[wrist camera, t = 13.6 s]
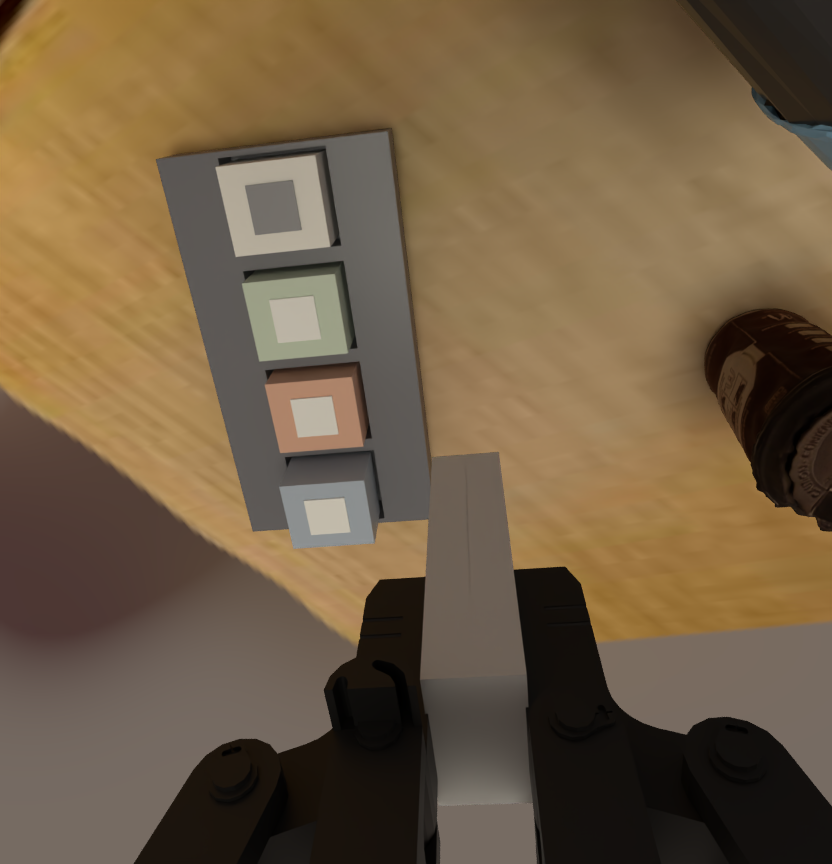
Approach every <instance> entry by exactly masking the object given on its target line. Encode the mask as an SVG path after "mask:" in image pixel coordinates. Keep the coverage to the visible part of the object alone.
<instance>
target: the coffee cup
mask: <svg viewBox="0 0 832 864" xmlns="http://www.w3.org/2000/svg"><path fill="white" fill-rule="evenodd" d="M705 376H706V380H707V382H708V384H709V386H710V389H711V390H712V391H713V392H714V393H715V394H716V397H717V399H718V403H719V405H720V407H721V410H722V412H723V414H724V416H725V418H726V420H727V422H728V423H729V424H730V426H731V428H732V430H733V431H734V433H735V435H736V437H737V439H738V441H739V442H740V444H741V446H742V448H743V449H744V451H745V453H746V455H747V458H748V459H749V461H750V462H751V467H752V470H753V472H752V474H753V476H754V478H755V480H756V482H757V484H756V488H757V490H759V491H761V492H763V493H764V494H765V495H766V497H768V498H769V499H770V500H771V501H772V502H773V503H775V507H777V508H778V507H791V508H792V509H793V510H794V511H795V512H796V513H797V514H798V515H802V516H808V517H816V520H817V524H818V527H820V530H822V531H832V336H831V335H830V334H828V333H827V332H826V331H825V330H823V329H821V328H820V327H818V326H816V325H814V324H811V323H809V322H808V321H807V320H806V319H805V318H803V317H802V316H800V315H798V314H795V313H792V312H789V311H785V310H779V309H761V310H754V311H751V312H747V313H744V314H742V315H739V316H737V317H735V318H733V319H731V320H729V321H728V322H727V323H726V324H725V325H724V326H723V327H722V328H721V329H720V330H719V332H718V333H717V334H716V335H715V337H714V338H713V339H712V341H711V342H710V344H709V347H708V349H707V352H706V356H705Z"/></svg>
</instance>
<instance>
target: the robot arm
mask: <svg viewBox="0 0 832 864" xmlns="http://www.w3.org/2000/svg"><path fill="white" fill-rule="evenodd" d="M676 1H677V2H678V4H679V5H680V6H681V7H682V8H683V9H684V10H685V11H686V13H687V14H688V15H689V16H690V17H691V18H692V19H693V20H694V22H695V23H696V24H697V25H698V26H699V27H700V28H701V30H702V31H703V32H704V33H705V34H706V35H707V36H708V37H709V39H710V40H711V41H712V42H713V43H714V44H715V45H716V47H717V48H718V49H719V50H720V51H721V52H722V53H723V54H724V56H725V57H726V58H727V59H728V60H729V61H730V62H731V64H732V65H733V66H734V67H735V68H736V69H737V70H738V71H739V73H740V74H741V75H742V76H743V77H744V78H745V79H746V80H747V82H748V83H749V84H750V85H751V86H752V96H753V98H754V100H755V102H756V103H757V105H758V106H759V107H760V109H761V110H762V111H763V113H764V114H765V115H766V116H767V117H768V118H769V119H770V120H772V121H773V122H775V123H776V124H777V125H781V126H782V127H784V128H785V129H787V130H788V131H790V132H791V133H794V134H796V135H797V136H798V137H799V138H800V139H801V140H802V141H803V142H804V143H805V144H806V145H807V147H808V148H809V149H810V150H811V151H812V152H813V153H814V154H815V155H816V156H817V157H818V158H819V159H820V160H821V161H822V162H823V163H824V164H825V165H826V166H827V167H828V168H829V169H830V170H832V0H676ZM324 693H325V698H326V702H327V706H328V710H329V714H330V719H331V723H332V727H333V728H332V729H331V730H330V731H329V732H327V733H326V734H325V735H323V736H322V737H320V738H319V739H317V740H314V741H312V742H310V743H307V744H305V745H302V746H299V747H296V748H293V749H290V750H287V751H284V752H281V753H278V754H277V753H276V751H275V750H274V749H273V748H272V747H271V745H270V744H267V743H265V742H262V741H260V740H258V739H238V740H235V741H232V742H229V743H226V744H223V745H221V746H219V747H218V748H216V749H215V750H214V751H212V752H210V753H209V754H207V755H206V756H205V757H204V758H203V759H202V760H201V762H200V763H199V764H198V765H197V766H196V767H195V769H194V770H193V771H192V773H191V775H190V776H189V778H188V779H187V781H186V782H185V784H184V785H183V787H182V789H181V790H180V792H179V793H178V795H177V796H176V798H175V800H174V801H173V803H172V804H171V806H170V808H169V809H168V811H167V812H166V814H165V815H164V817H163V819H162V820H161V822H160V823H159V825H158V826H157V828H156V829H155V831H154V833H153V834H152V836H151V837H150V839H149V840H148V842H147V844H146V845H145V847H144V848H143V850H142V851H141V853H140V855H139V856H138V858H137V859H136V861H135V862H134V864H440V837H439V831H438V825H437V796H438V802H439V806H450V805H483V804H516V803H533V809H534V819H535V836H536V854H537V864H832V806H831V805H830V804H829V802H828V801H827V800H826V799H825V797H824V796H823V795H822V794H821V792H820V791H819V790H818V789H817V787H816V786H815V785H814V784H813V782H812V781H811V780H810V779H809V778H808V776H807V775H806V774H805V773H804V771H803V770H802V769H801V768H800V766H799V765H798V764H797V763H796V761H795V760H794V759H793V758H792V756H791V755H790V754H789V753H788V751H787V750H786V749H785V748H784V746H783V745H782V744H781V743H779V742H778V741H777V740H776V739H775V738H774V737H773V736H772V735H771V734H770V733H769V732H767V731H766V730H764V729H762V728H760V727H758V726H756V725H754V724H752V723H750V722H748V721H744V720H740V719H735V718H730V717H718V718H708V719H706V720H704V721H702V722H700V723H698V724H696V725H694V726H693V727H692V728H691V729H690V731H689V732H688V734H687V735H685V734H680V733H676V732H672V731H668V730H663V729H659V728H656V727H652V726H650V725H647V724H644V723H642V722H640V721H638V720H636V719H634V718H632V717H631V716H629V715H628V714H627V713H626V712H624V711H623V710H622V709H621V708H620V707H619V706H618V705H617V704H616V702H615V701H614V700H613V698H612V697H611V695H610V692H609V690H608V687H607V684H606V680H605V676H604V672H603V668H602V665H601V661H600V657H599V654H598V650H597V645H596V641H595V637H594V633H593V629H592V626H591V623H590V618H589V614H588V610H587V608H586V602H585V598H584V594H583V590H582V587H581V583H580V582H579V581H578V580H577V579H576V578H575V577H574V576H573V575H572V574H571V573H570V571H569V570H568V569H567V568H566V567H550V568H534V569H518V570H513V562H512V554H511V546H510V538H509V530H508V522H507V514H506V506H505V498H504V490H503V482H502V474H501V466H500V458H499V452H492V453H479V454H466V455H453V456H440V457H432V469H431V487H430V505H429V524H428V542H427V560H426V577H417V578H401V579H384V580H379V582H378V583H377V584H376V586H375V587H374V588H373V590H372V591H371V592H370V594H369V595H368V596H367V598H366V602H365V608H364V614H363V623H362V626H361V632H360V639H359V644H358V650H357V656H356V658H354V659H352V660H350V661H349V662H346V663H345V664H343V665H341V666H340V667H339V668H338V669H337V670H336V671H335V672H334V673H333V674H332V675H331V676H330V677H329V680H328V682H327V684H326V686H325V688H324Z"/></svg>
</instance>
